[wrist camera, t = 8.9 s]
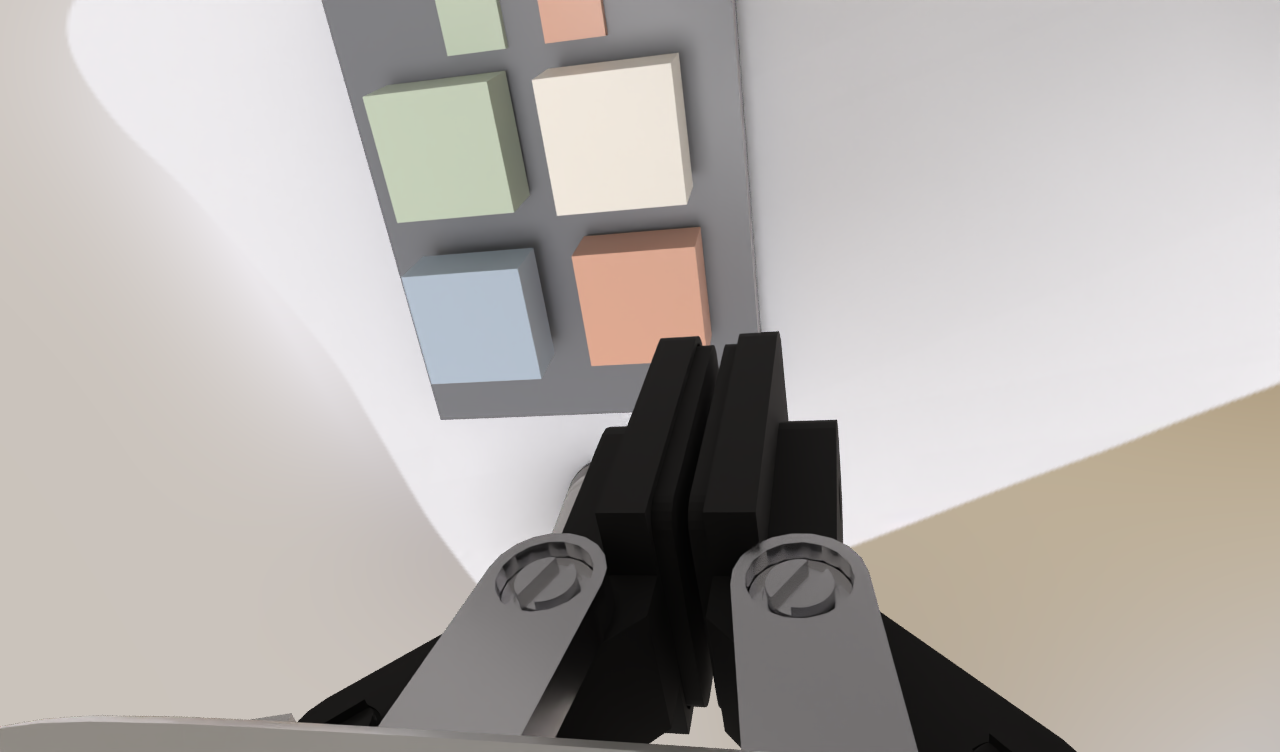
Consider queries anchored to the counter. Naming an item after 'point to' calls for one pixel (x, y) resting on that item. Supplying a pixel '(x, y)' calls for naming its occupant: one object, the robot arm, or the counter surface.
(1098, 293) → the counter surface
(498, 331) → the key blue
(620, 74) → the key cream
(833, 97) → the counter surface
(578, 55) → the keypad board
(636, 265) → the key terracotta
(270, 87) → the counter surface
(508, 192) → the key sage
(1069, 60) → the counter surface
